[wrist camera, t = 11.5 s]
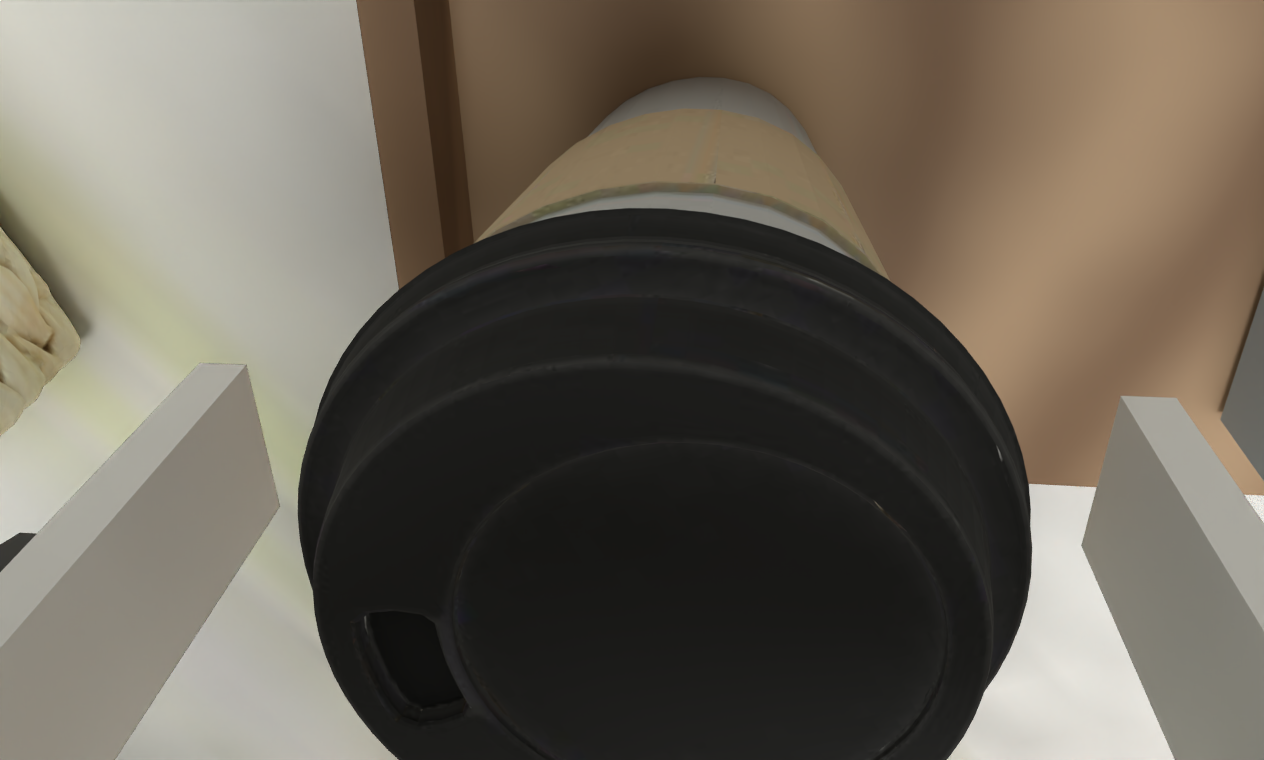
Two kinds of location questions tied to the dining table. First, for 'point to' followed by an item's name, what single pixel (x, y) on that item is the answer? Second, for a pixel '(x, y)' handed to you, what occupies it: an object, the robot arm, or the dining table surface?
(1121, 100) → the housing base
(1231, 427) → the block
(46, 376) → the storage basket
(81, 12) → the dining table surface
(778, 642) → the coffee cup
